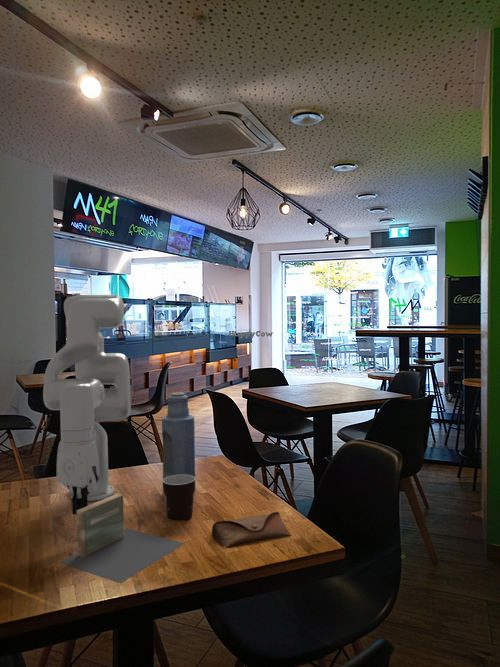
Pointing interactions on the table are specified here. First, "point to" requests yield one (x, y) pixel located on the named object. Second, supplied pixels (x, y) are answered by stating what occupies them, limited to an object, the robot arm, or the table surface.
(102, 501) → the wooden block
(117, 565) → the mat
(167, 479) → the coffee mug
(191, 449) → the bottle
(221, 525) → the sunglasses case
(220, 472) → the table surface
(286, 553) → the table surface
